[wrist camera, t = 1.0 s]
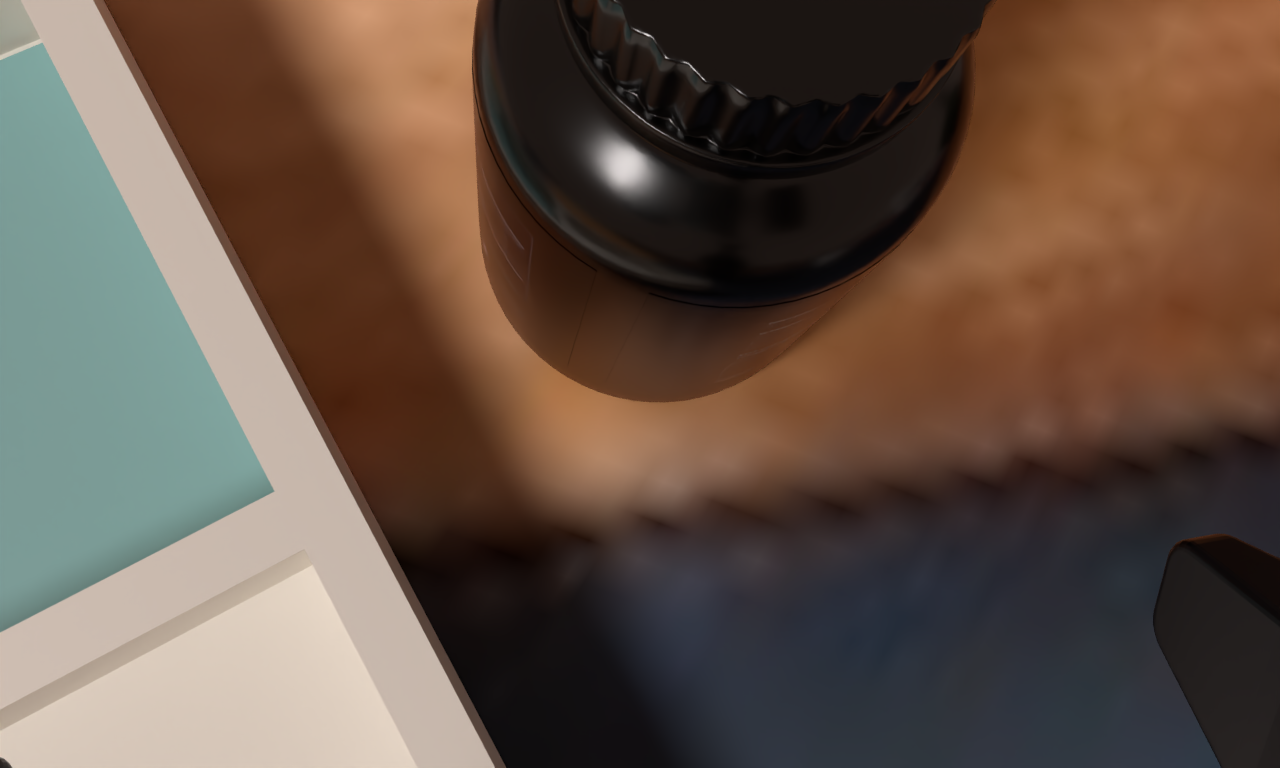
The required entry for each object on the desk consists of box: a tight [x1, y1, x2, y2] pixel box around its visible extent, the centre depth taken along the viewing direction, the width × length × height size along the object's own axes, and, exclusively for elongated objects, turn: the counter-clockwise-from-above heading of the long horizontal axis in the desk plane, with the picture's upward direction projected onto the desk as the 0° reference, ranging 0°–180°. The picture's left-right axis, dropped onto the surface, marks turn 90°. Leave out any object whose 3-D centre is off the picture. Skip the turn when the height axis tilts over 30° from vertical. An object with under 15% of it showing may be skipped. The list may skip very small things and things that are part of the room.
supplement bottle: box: [472, 0, 996, 402], centre depth 18 cm, size 7×7×12 cm
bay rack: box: [0, 0, 506, 768], centre depth 19 cm, size 23×12×4 cm, turn 29°
